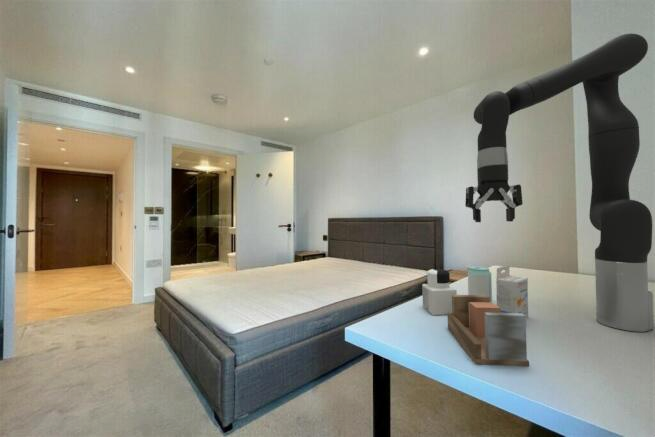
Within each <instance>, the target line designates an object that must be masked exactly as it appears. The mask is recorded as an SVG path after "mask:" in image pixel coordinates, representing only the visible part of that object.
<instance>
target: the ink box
mask: <svg viewBox="0 0 655 437" xmlns="http://www.w3.org/2000/svg"><path fill="white" fill-rule="evenodd" d="M510 267H511V266H510V264H508V265H503V266H500V267H497V268H496V281H495V282H496V305H497V306H498V307H500V308H501V313H522V314H524V315H525V316H526V319H528V318H529V296H528V294H529V293H528V292H529V291H528V288H529V287H528V286H529V284H528V283H529V282H528V280H529V279H528V277H524V276H517V275H512V274H511V275H510V269H511V268H510ZM502 271H504V272H502Z"/></svg>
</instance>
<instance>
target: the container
mask: <svg viewBox="0 0 655 437" xmlns="http://www.w3.org/2000/svg"><path fill="white" fill-rule="evenodd" d="M426 273H427V274H426V275H427V276H426V278H427V279H426V280H427V283H422V287H421V289H422V307H423V308H424V309H425V310H426V311H427V312H428V313H430V314H431V315H432V316H445V315H447V316H448V314H447V313H450V314H452V295H458V294H457V289H456V288H454V287H452V286H450V284H451V281H450V280H451V277H450V272H449V271H448V270H446V269H442V268H431V269H429V270H427V272H426Z"/></svg>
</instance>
